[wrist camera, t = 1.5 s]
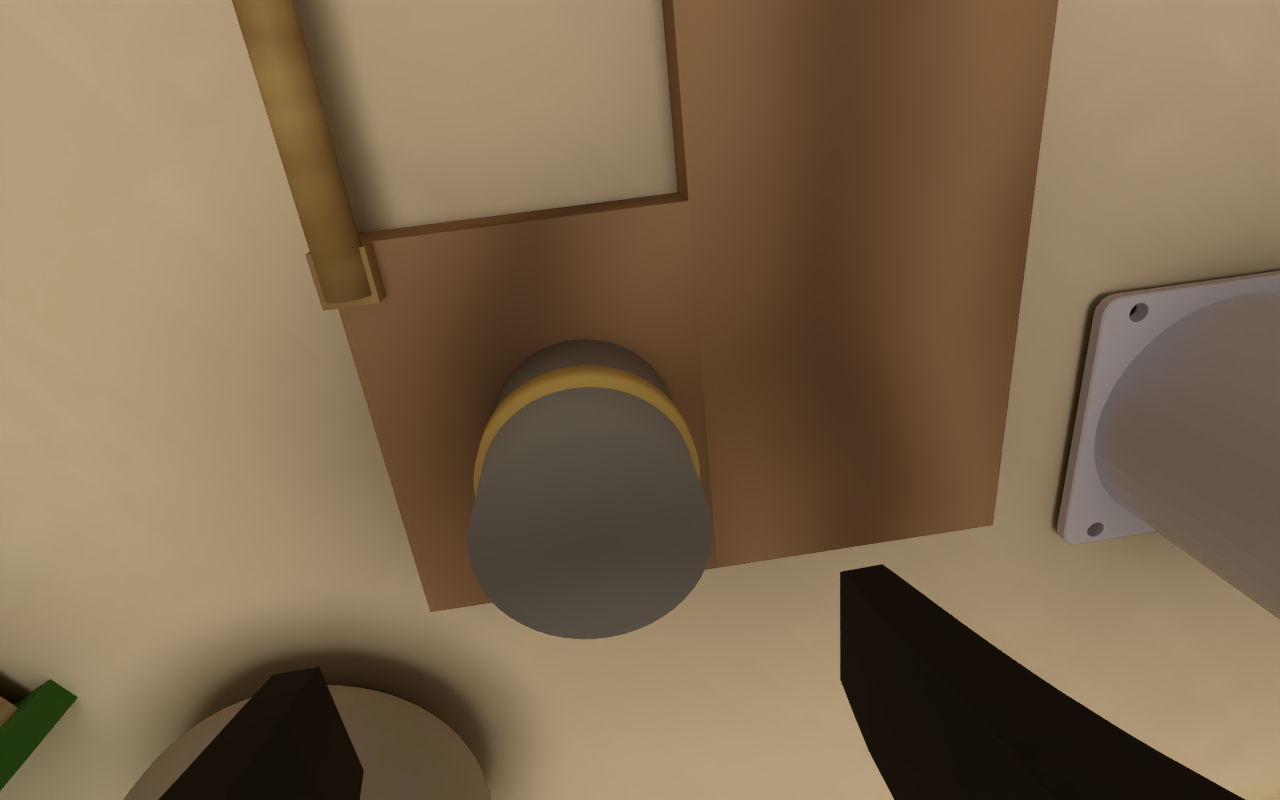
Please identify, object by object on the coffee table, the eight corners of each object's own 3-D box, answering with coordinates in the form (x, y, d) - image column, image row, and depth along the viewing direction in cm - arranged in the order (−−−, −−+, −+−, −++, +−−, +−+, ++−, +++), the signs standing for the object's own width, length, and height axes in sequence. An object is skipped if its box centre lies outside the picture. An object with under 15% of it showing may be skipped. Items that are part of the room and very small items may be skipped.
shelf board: (1074, -582, 12) (1197, -748, 9) (964, 497, 21) (1013, 545, 18) (120, -510, 11) (1, -673, 9) (436, 577, 20) (419, 638, 18)
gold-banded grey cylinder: (669, 320, 16) (711, 408, 11) (686, 489, 18) (728, 623, 13) (469, 348, 16) (430, 449, 11) (508, 517, 18) (488, 662, 13)
